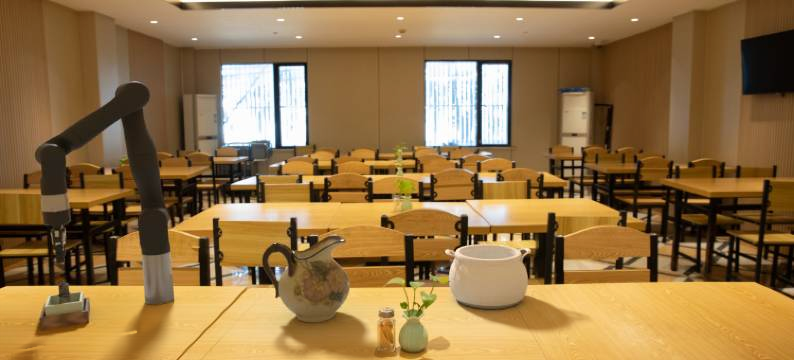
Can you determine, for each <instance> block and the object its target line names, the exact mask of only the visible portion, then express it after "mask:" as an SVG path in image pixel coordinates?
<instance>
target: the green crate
mask: <svg viewBox="0 0 794 360" xmlns="http://www.w3.org/2000/svg"><path fill="white" fill-rule="evenodd" d="M70 293H71V294H70V300H71V303H64V304H59V296H58V294H59V293H58V294H52V295H48V296H47V298H46V299H47V300H46V302H45V303H46V305H45V314H46V316H52V315H59V314H66V313H72V312H79V311H85V305H84V298H85V297H84V294H85V293H84V291H83V290H82V291H80V290H79V291H74V292H70Z"/></svg>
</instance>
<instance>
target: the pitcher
mask: <svg viewBox="0 0 794 360" xmlns="http://www.w3.org/2000/svg"><path fill="white" fill-rule="evenodd" d="M345 243H346V239H345V238H344V237H343V236H341V235H338V234H331V235H328V236H326V237H323V238H322V239H321V240H319V241H318V242H316V243H315V244H313V245H312V246H309V247H307V248H305V249H304V250H292V249H291V248H290V247H289V246H288V245H286V244H283V243H280V242H274V243H272V244H270V246H268V247H267V248H266V249H265V250H264V252H263V255H262V256H261V257H262V258H261V262H262V268H263V269H264V272H265V273H266V275H267V276H268V278H269V279H270V281H271V282H272V284H273V287H274V289H275V296H274V297H275V299H278V298H280V300H281V301H282V303H283V304H284V305H285V307H286V308H287V309H288V310H289V311H290V312H291V313H292V314H294V315H295V316H296V319H298V320H299V321H302V322H305V323H321V322H322V323H323V322H326V321H329V320H332V319H333V318H334V317H335V316H336V313H337V311H338V310H339V309H340V308H341V307H342V306H343V304H345V302H346V300H347V298H348V296H349V293H350V288H351V285H350V283H351V282H350V278H349V274H347V272H346V270H345V269H344V268H343V266H341V265H340V264H339V263H338V262H337V261H336V260H335V259H334V258H333V256H332V252H333V250H334V249H335V248H336V247H339V246H341V245H344V244H345ZM274 253H275V254H276V253H280V254H282V256H284V258H285V260H286V262H287V267H286V268H285V269H284V270H283V272H282V273H281V275H280V277H279V279H277V277H276V275H275V274H274V271H272V268H271V266H270V264H269V259H270V256H271V255H272V254H274Z"/></svg>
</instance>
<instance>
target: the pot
mask: <svg viewBox="0 0 794 360" xmlns="http://www.w3.org/2000/svg"><path fill="white" fill-rule="evenodd" d="M521 251H526V252H525V253H523V254H522V252H521ZM531 252H532V250H531V249H530V248H529V247H522V248H515V247H512V246H508V245H501V244H490V243H489V244H488V243H487V244H486V243H485V244H484V243H482V244H481V243H480V244H470V245H465V246H464V245H463V246H461V247H459V248H457V249H456V250H455V251H454V250H451V249H448V248H447V249H445V253H444V254H446V255H447V256H451V257H454V259H453V261H452V263H451V264H450V269H449V275H448V281H450V282H448V284H449V288H450V292H451V294H452V296H453V297H454V298H455V300H457V302H459V303H460V304H462V305H464V306H468V307H470V308H471V307H472V308H475V309H476V308H477V309H485V310H496V309H497V310H500V309H506V308H510V307H513V306H515V305H518V304H519V303H520V302H521V301H522V300H523V299H524V297H525V295H526V293H527V289H528V283H529V282H528V281H529V279H528V272H527V267H526V266H525V264H524V263H523V260H524V258H525V256H527V255H528V254H531Z"/></svg>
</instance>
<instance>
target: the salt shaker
mask: <svg viewBox="0 0 794 360" xmlns="http://www.w3.org/2000/svg"><path fill="white" fill-rule="evenodd" d="M57 287H58V296H59V304H64V303H71V300H70V294H71V293H72V292H70V285H69V283H68V282H65V280H64V279H63V280H61V283H60V284H58V286H57Z"/></svg>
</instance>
